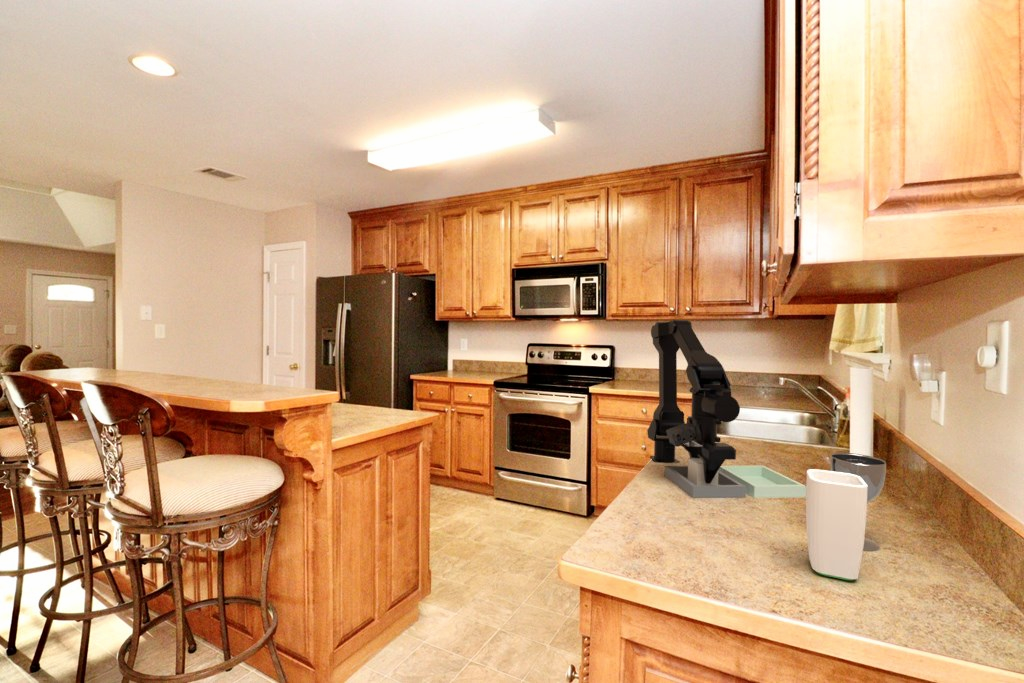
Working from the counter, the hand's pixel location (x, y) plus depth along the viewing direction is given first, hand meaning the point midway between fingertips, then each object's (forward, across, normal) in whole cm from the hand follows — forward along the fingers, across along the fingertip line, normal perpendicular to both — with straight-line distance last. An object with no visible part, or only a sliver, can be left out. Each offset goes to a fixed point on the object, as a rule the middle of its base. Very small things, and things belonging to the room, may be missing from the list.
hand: (702, 479), depth 113 cm
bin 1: (+2, 0, 0) cm, 2 cm away
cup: (+2, +39, +2) cm, 39 cm away
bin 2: (+2, 0, +14) cm, 14 cm away
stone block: (+2, 0, 0) cm, 2 cm away
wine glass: (+2, +29, +14) cm, 32 cm away
